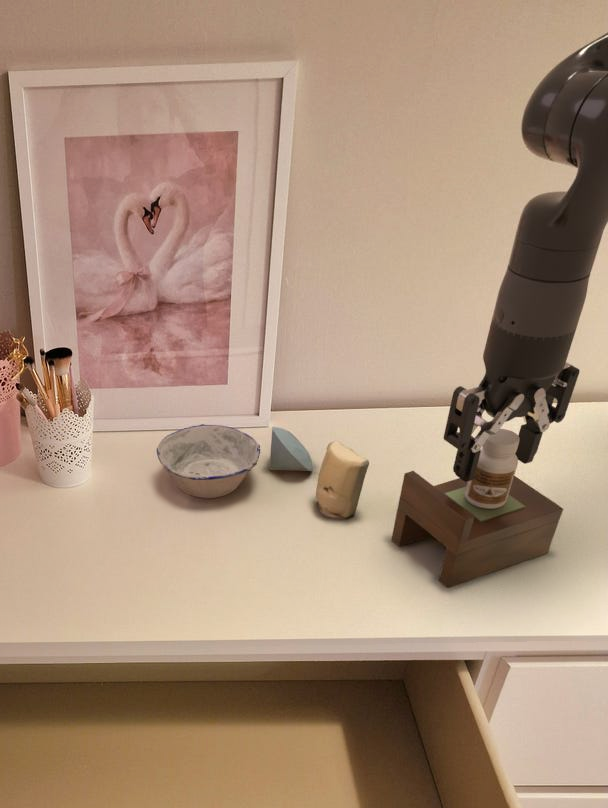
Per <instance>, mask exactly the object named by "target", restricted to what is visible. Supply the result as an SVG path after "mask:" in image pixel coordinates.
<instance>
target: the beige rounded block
mask: <svg viewBox="0 0 608 808" xmlns="http://www.w3.org/2000/svg"><path fill="white" fill-rule="evenodd" d="M369 466H370V461H369V459H368V458H366V457H364V456H362V455H361V454H359V453H358V452H356V451H355V450H353V449H352V448H350V447H349V446H347V445H345V444H344V443H342V442H341V441H332V442H329V443H328V445H327V446H326V451H325V455H324V457H323V460H322V462H321V465H320V469H319V472H318V478H317V484H316V490H315V496H316V501H315V502H316V505H318V507H319V511H320V513H321V514H323V515H324V516H326V517H328V518H335V519H336V518H337V519H340V520H350V519H352V518H353V517H354V516H355V515H356V511H357V508H358V504H359V500H360V497H361V493H362V489H363V486H364V481H365V478H366V474H367V472H368V468H369Z"/></svg>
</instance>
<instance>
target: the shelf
mask: <svg viewBox="0 0 608 808" xmlns="http://www.w3.org/2000/svg"><path fill="white" fill-rule="evenodd" d="M467 484H468V482H465V481H463V480H462V479H460V478H459V477H458V478H454V479H451V480H449V481H445V482H442V483H439V484H435V485H433V484H432V483H430V482H429V481H428V480H426V479H425V478H424V477H422V476H421V475H420V474H419V473H417V472H415V471H414V470H411V471H408V472H405V473H404V475H403V481H402V484H401V485H402V486H401V489H400V495H399V498H398V503H397V508H396V509H397V510H396V514H395V519H394V524H393V530H392V534H391V538H390V540H391V541H392V542H393V543H395V544H396V545H397V546H398V547H402V546H405V545H408V544H411V543H414V542H416V541H420V540H423V539H426V538H429V537H431V536H432V537H433V538H435V539H436V540H437V542H439V543H441V544H442V545H443V546H444V547H446V550H445V553H444V558H443V562H442V566H441V570H440V573H439V577H438V582H439V583H441V584H442V585H443V586H444V587H445V588H447V589H448V588H451V587H454V586H456V585H459V584H462V583H465V582H469V581H471V580H475V579H477V578H479V577H482V576H486V575H488V574H491V573H494V572H496V571H500V570H502V569H505V568H508V567H511V566H514V565H517V564H520V563H522V562H526V561H528V560H531V559H534V558H537V557H540V556H542V555H543V556H544V555H545V554H548V553H549V550H550V547H551V545H552V543H553V539H554V536H555V533H556V530H557V528H558V525H559V522H560V520H561V517H562V515H563V511H564V508H563V507H562V506H560V505H559V504H557V503H555V502H554V501H553V500H551V499H550V498H548V497H547V496H545V495H544V494H543V493H541V492H539V491H538V490H537V489H535V488H533V487H532V486H531V485H529V484H527V483H526V482H524V481H523V480H522V479H520V478H519V477H517V476H516V475H514V477H513V481H512V484H511V488H510V491H509V494H508V498H507V501H506V503H505V504H504V505H503V506H501V507H499V508H495V509H484V508H479V507H476V506H474V505H472V504H471V503H469V502H468V501H467V499H466V497H465V491H466V487H467Z"/></svg>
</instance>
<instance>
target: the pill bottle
mask: <svg viewBox="0 0 608 808" xmlns="http://www.w3.org/2000/svg"><path fill="white" fill-rule="evenodd" d="M518 435H519V434H517V433H516V432H515V431H513V430H510V429H505V428H500V429H499V431H498V432H497V433H496V434H492V435H490V436H489V438H488V439H487V440H486V442H485V443H484V445H483V446H482V447H481V449H480V451H481V453H480V457H479V460H478V464H477V468H476V472H475V476H474V479H473V480H471V481H468V484H467V487H466V491H465V497H466V499H467V501H468V502H469V503H471V504H472V505H474V506H476V507H479V508H484V509H495V508H499V507H501V506H503V505H504V504H505V503H506V501H507V498H508V494H509V491H510V488H511V484H512V481H513V477H514V476H515V475H516V470H517V468H518V465H519V460H518V458H517V456H516V454H515V453H516V451H517V448H518V444H519V436H518Z"/></svg>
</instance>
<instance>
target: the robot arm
mask: <svg viewBox="0 0 608 808" xmlns="http://www.w3.org/2000/svg"><path fill="white" fill-rule="evenodd" d="M520 130H521V138H522V141H523V144H524V146H525V147H526V148H527V149H528V151H529V152H530V153H532V154H533V155H535V156H537V158H540V159H543V160H546V161H548V162H552V163H558V164H561V165H565V166H568V167H571V168H575V169H577V171H576V174H575V178H574V179H573V181H572V183H571V185H570V187H569V188H568V190H566V191H565V190H561V191H559V190H558V191H549V192H544V193H540V194H537V195H535V196H534V197H532V198H530V199H529V200H528V202H527V203H526V204H525V205H524V207H523V209H522V211H521V214H520V217H519V220H518V225H517V228H516V231H515V234H514V239H513V243H512V248H511V250H510V251H511V252H510V256H509V259H508V264H507V268H506V271H505V274H504V276H503V279H502V280H501V284H500V287H499V290H498V292H497V297H496V302H495V305H494V309H493V314H492V317H491V320H490V326H489V329H488V334H487V338H486V342H485V346H484V350H483V354H482V360H483V363H484V369H485V374H484V376H483V378H482V380H481V381H480V383H479V384H478V386H477V387H473V388H470V389H467V388H466V387H463V386H458V387H456V388H455V389H454V390H453V391H452V392H453V393H452V397H451V401H450V406H449V411H448V415H447V420H446V423H445V429H444V433H443V440H444V441H445V442H447V443H448V444H449V445H451V446H452V447H454V448H455V449H457V451H456V455H455V459H454V462H453V467H452V472H453V473H454V474H455V476H456V477H458V478H460V479H462V480H463V481H465V482H468V481H471V480H473V479H474V476H475V472H476V468H477V464H478V460H479V457H480V453H481V451H480V449H481V448H482V446H483V445H484V443H485V442H486V440H487V439H488V438H489V436H490V435H492V434H496V433H497V432H498V431H499V429H502V427H503V425H504V424H505V423H507V422H510V421H511V420H513V419H516V418H522V419H523V421H524V424H521V425H520V428H519V432H518V434H517V435H518V436H519V444H518V448H517V451H516V453H515V454H516V456H517V458H518V462H521V463H523V464H525V465H526V464H529V463H532V462H533V460H534V458H535V456H536V454H537V452H538V450H539V447H540V443H541V440H542V437H543V434H544V432H546V431H547V430H549V428H550V426H551V424H552V423H554V422H555V423H557V424H559V423H561V422H562V421H563V420H564V419H565V417H566V414H567V411H568V407H569V404H570V402H571V399H572V395H573V393H574V390H575V387H576V385H577V382H578V378H579V376H580V368H578V367H576V366H574V365H572V364H571V363H570V362H567V360H568V357H569V353H570V350H571V347H572V343H573V341H574V338H575V334H576V331H577V329H578V325H579V321H580V318H581V315H582V312H583V308H584V306H585V302H586V298H587V294H588V288H589V282H590V277H591V272H592V270H593V266H594V264H595V261H596V257H597V254H598V251H599V248H600V244H601V241H602V238H603V235H604V231H605V230H606V229H605V228H606V226H607V224H608V32H606V33H604V34H602V35H601V36H599V37H597V38H596V39H594V40H592V41H591V42H589V43H587V44H585V45H583V46H582V47H580V48H578V49H577V50H575V51H574V52H573V53H571V54H569V55H568V56H566V57H565V58H564V59H563V60H561V61H560V62H559V63H557V64H556V65H555V66H553V68H551V70H549V72H547V73H546V75H545V76H544V77H543V78H542V79H541V81H539V83H538V84H537V85H536V87H535V89H534V90H533V91H532V92H531V95H530V97H529V99H528V100H527V103H526V105H525V108H524V109H523V114H522V118H521V127H520ZM554 400H556V405H555V406H553V404H554ZM484 412H485V413H486V414H487V415H488V416H490V417H491V418H492V419H491V420H490V421H487V420H485V418H484V417H483V414H484ZM478 427H479V428H480V430H479V431H478V433H477V434H476V435H475V437H474V436H472V435H473V434H474V432H475V430H476V429H477V428H478ZM458 430H459V432H458Z"/></svg>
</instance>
